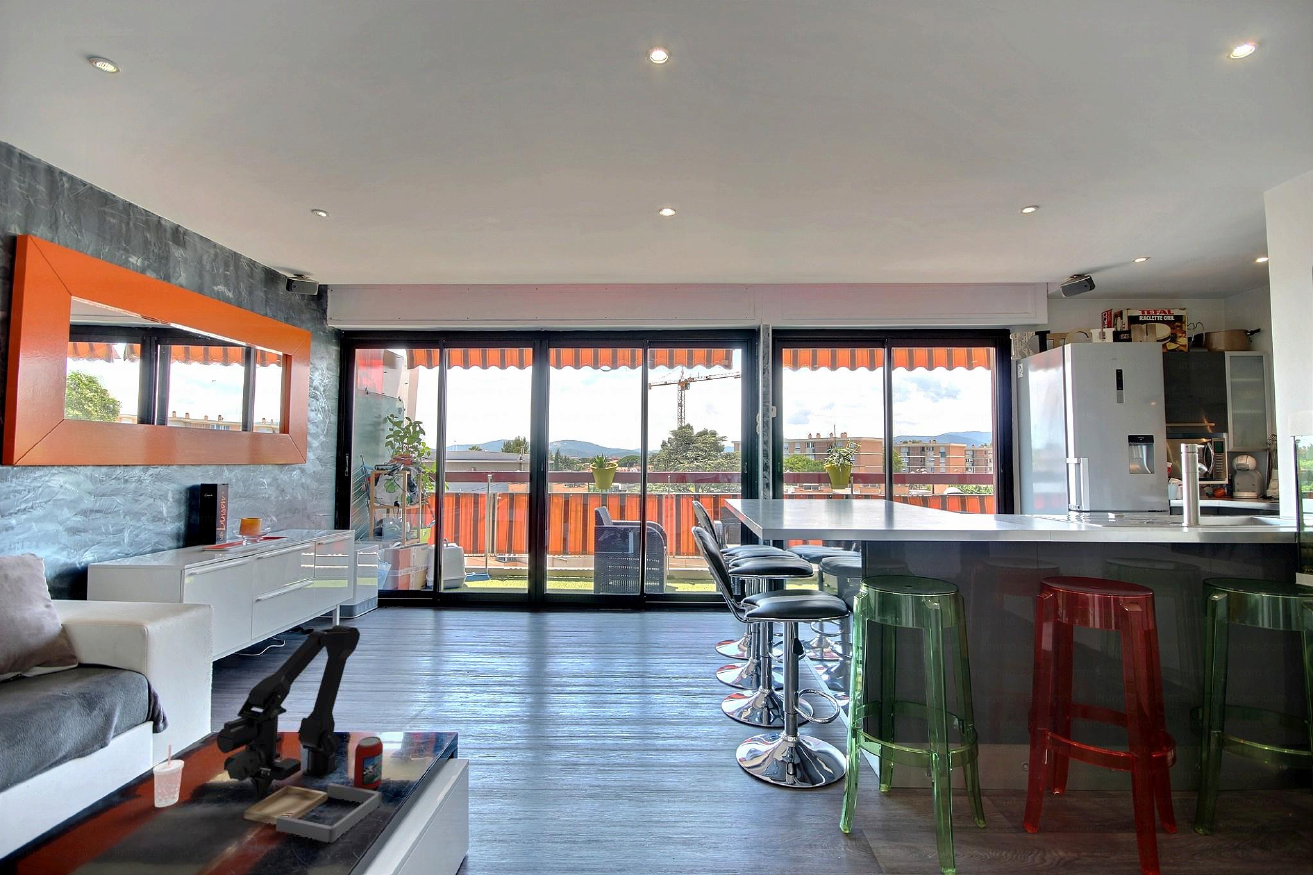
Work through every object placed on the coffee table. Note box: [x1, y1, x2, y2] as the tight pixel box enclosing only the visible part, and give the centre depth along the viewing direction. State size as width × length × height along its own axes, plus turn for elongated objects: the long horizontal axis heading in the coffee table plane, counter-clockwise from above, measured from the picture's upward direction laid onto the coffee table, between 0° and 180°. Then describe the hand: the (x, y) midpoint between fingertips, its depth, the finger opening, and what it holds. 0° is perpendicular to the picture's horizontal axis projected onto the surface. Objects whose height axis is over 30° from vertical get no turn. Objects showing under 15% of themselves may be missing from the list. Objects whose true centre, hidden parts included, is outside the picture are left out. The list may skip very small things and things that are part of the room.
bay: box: [275, 782, 383, 844], centre depth 150 cm, size 16×17×3 cm
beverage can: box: [353, 736, 384, 791], centre depth 164 cm, size 7×7×12 cm
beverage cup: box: [152, 744, 185, 808], centre depth 154 cm, size 6×6×14 cm
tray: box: [243, 784, 329, 825], centre depth 153 cm, size 13×13×2 cm
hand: (260, 798), depth 155 cm, fingers closed
